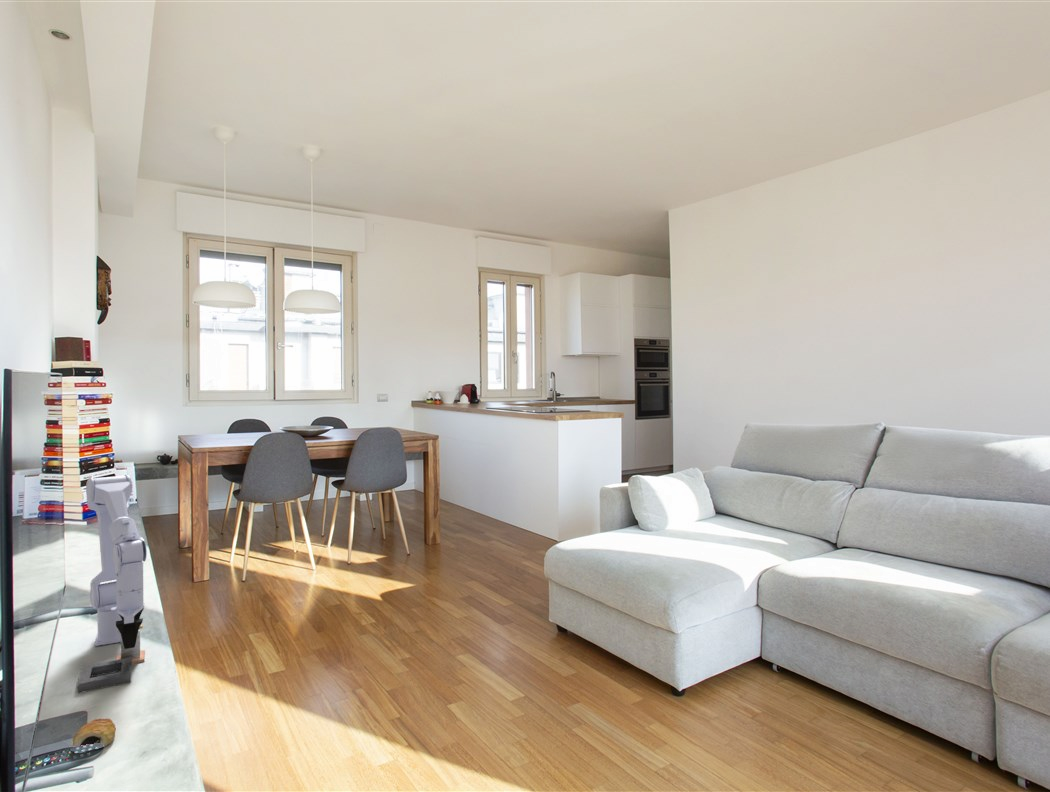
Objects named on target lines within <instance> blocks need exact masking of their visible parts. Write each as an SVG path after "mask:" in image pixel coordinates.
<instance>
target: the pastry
mask: <svg viewBox="0 0 1050 792" xmlns="http://www.w3.org/2000/svg"><path fill="white" fill-rule="evenodd" d="M116 730H117V729H116V725H115V723H114V722H113V721H112V719H110V718H95V719H93V720H91V721H90V722H87V723H85V724H84V725H82V726H81V727H80V728H79V729H78V730H77V733H75V735H74V736H73V738H72V745H71V747H72V746H81V745H86V744H94V743H100V744H102V745H104V746H105V747H107V746H106V745H108V746H109V745H111V743H113V741H114V740H115V737H116Z"/></svg>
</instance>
